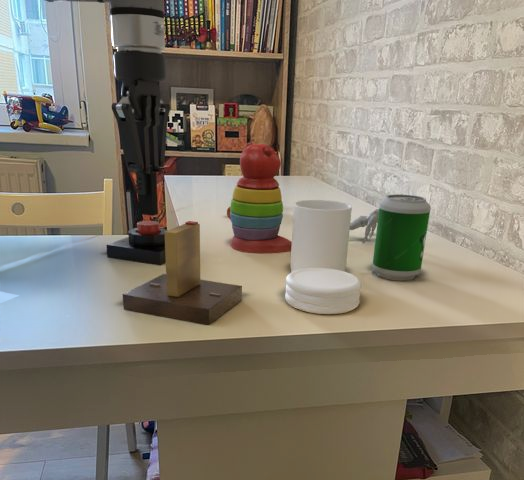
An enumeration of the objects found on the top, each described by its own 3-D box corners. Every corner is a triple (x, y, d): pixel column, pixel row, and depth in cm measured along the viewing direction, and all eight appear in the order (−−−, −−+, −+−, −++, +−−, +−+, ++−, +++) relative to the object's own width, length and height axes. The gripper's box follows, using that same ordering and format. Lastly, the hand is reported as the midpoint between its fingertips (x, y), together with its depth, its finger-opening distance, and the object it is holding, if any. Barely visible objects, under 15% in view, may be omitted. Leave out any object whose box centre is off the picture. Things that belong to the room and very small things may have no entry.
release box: (107, 257, 92) (105, 233, 90) (140, 244, 100) (139, 222, 99) (160, 265, 88) (159, 241, 87) (190, 251, 97) (189, 228, 95)
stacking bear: (297, 250, 100) (303, 145, 93) (250, 257, 95) (253, 146, 88) (263, 237, 108) (266, 140, 101) (218, 243, 103) (218, 141, 96)
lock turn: (178, 297, 69) (176, 230, 66) (166, 295, 70) (164, 229, 66) (200, 284, 74) (199, 221, 71) (189, 282, 75) (188, 220, 71)
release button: (133, 234, 92) (132, 223, 91) (145, 230, 95) (144, 219, 94) (152, 236, 91) (151, 226, 90) (163, 232, 94) (163, 222, 93)
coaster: (372, 311, 73) (376, 286, 71) (302, 318, 69) (304, 292, 68) (338, 288, 81) (340, 264, 80) (274, 293, 78) (275, 269, 76)
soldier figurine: (330, 252, 110) (390, 237, 104) (323, 225, 108) (383, 209, 102) (339, 245, 115) (396, 231, 109) (332, 219, 113) (390, 204, 108)
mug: (334, 261, 95) (340, 196, 90) (350, 282, 84) (358, 210, 79) (283, 260, 94) (287, 195, 89) (294, 282, 83) (298, 209, 79)
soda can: (416, 284, 84) (429, 203, 79) (367, 278, 86) (376, 199, 81) (421, 271, 91) (433, 196, 86) (375, 265, 93) (384, 191, 88)
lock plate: (123, 309, 70) (122, 292, 69) (164, 287, 79) (163, 272, 78) (208, 325, 67) (208, 308, 66) (242, 300, 75) (242, 284, 74)
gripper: (136, 47, 75) (146, 223, 85) (183, 55, 86) (187, 209, 96) (90, 47, 77) (105, 218, 87) (141, 54, 88) (149, 205, 98)
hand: (148, 213), depth 91 cm, fingers closed
